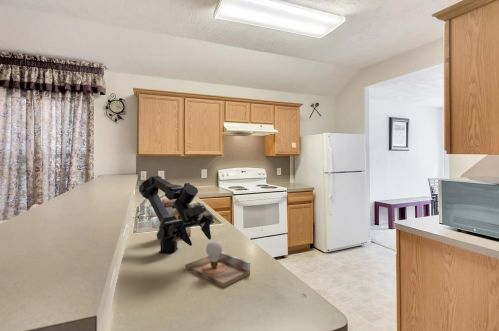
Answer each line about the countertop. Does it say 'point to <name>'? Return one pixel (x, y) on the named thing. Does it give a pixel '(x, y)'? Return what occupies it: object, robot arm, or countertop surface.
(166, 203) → the cracker box
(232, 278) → the board
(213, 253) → the light bulb
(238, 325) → the countertop surface
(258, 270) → the countertop surface
